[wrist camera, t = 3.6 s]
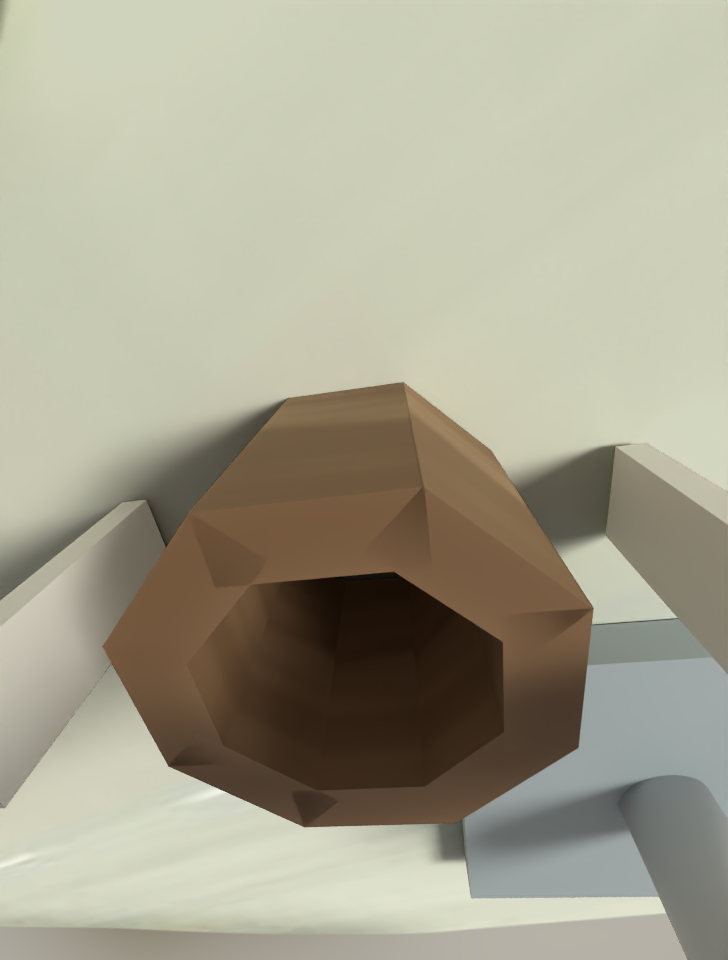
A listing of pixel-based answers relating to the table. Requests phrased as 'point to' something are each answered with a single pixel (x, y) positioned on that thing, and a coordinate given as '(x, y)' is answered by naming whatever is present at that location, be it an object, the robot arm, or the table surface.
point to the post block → (626, 792)
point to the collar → (359, 622)
